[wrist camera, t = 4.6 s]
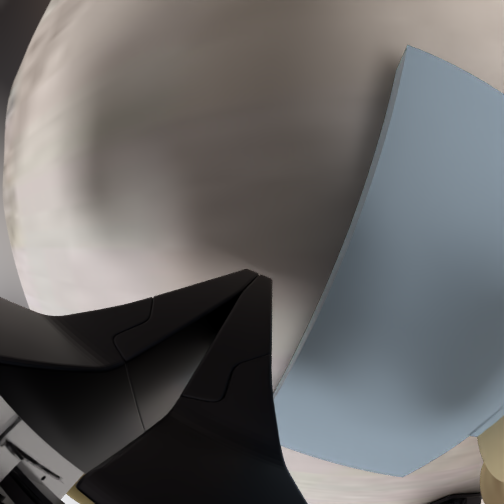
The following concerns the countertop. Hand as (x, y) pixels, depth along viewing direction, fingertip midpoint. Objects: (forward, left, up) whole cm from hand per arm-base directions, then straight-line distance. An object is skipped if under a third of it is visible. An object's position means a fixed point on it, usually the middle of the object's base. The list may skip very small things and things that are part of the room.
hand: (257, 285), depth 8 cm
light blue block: (0, -9, -1) cm, 9 cm away
